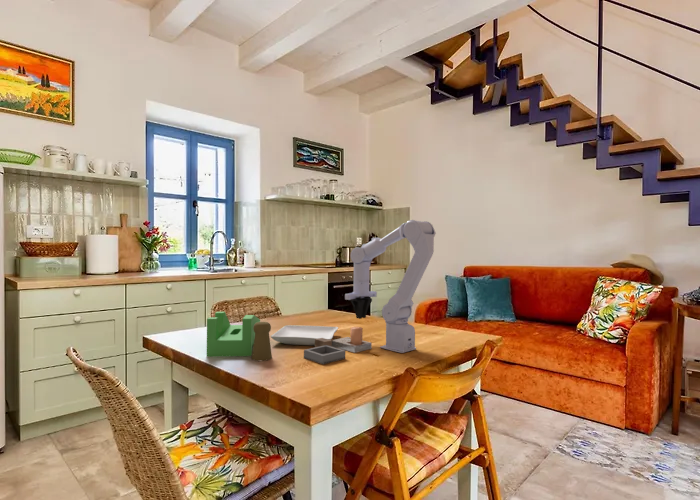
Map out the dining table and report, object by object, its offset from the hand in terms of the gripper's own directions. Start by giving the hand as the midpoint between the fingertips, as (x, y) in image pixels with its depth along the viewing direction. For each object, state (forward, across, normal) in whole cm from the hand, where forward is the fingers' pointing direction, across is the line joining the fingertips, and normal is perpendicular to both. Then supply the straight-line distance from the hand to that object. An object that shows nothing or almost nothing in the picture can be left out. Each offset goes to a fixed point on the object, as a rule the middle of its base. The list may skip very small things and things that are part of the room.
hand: (361, 318), depth 146 cm
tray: (+8, +24, +8) cm, 27 cm away
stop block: (+8, +19, +1) cm, 21 cm away
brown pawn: (+9, +38, -4) cm, 40 cm away
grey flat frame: (+8, +9, +4) cm, 13 cm away
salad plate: (+9, +14, -14) cm, 22 cm away
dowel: (+8, +9, +7) cm, 14 cm away
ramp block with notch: (+9, +38, -22) cm, 45 cm away
